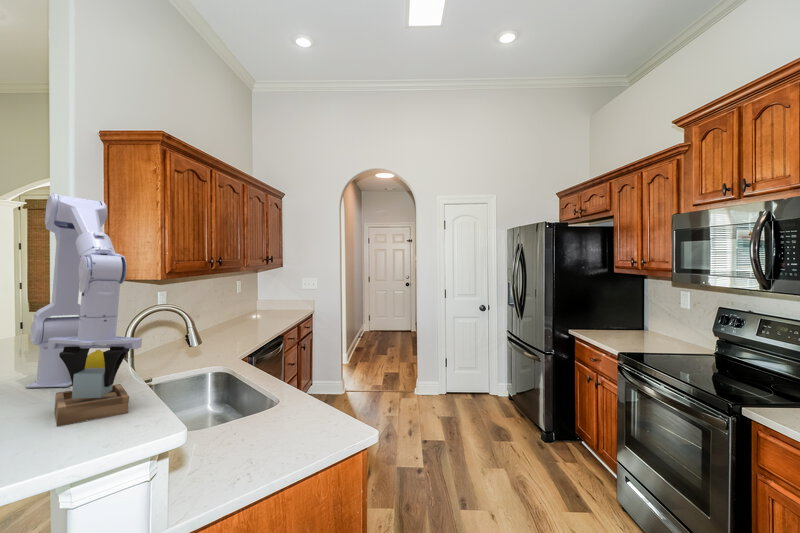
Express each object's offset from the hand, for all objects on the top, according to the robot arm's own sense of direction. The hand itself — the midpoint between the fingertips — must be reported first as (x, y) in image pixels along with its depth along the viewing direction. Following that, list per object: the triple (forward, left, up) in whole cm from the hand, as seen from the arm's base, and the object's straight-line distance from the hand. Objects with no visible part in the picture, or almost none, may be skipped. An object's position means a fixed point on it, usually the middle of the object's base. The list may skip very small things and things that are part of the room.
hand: (93, 385), depth 69 cm
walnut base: (0, 0, -5) cm, 5 cm away
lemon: (-19, -8, -5) cm, 21 cm away
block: (0, 0, -2) cm, 2 cm away
